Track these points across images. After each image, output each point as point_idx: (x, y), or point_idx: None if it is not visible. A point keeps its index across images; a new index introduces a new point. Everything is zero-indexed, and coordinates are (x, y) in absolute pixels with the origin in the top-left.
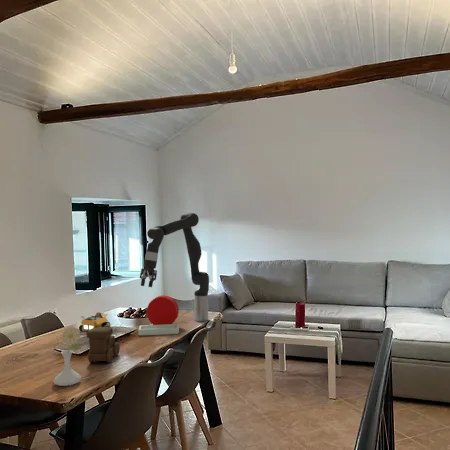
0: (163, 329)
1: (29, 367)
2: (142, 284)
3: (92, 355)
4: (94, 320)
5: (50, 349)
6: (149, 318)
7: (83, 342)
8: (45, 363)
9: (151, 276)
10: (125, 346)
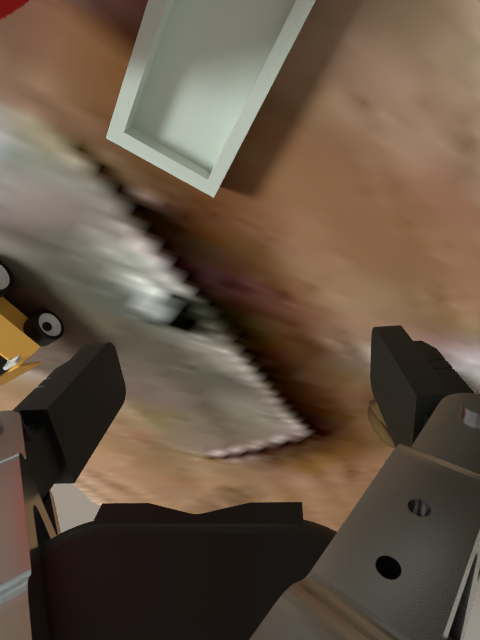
0: (306, 17)
1: (326, 512)
2: (113, 392)
3: None
4: (15, 366)
5: (205, 465)
6: (8, 5)
7: (184, 395)
8: (324, 492)
9: (477, 574)
10: (352, 311)
